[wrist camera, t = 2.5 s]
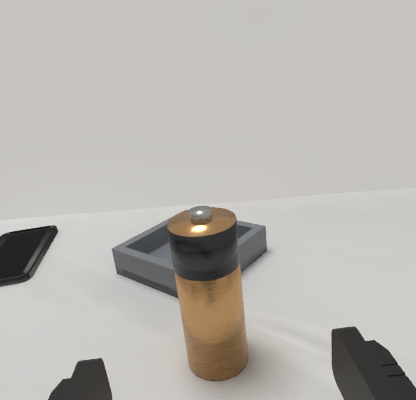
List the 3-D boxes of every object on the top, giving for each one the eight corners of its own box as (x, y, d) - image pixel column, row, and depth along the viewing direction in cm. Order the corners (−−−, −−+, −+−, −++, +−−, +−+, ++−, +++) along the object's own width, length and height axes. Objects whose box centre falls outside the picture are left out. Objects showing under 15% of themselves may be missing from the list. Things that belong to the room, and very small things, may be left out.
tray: (117, 272, 40) (111, 248, 39) (188, 231, 49) (185, 210, 48) (200, 306, 33) (196, 277, 32) (266, 250, 41) (265, 226, 40)
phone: (58, 224, 54) (27, 275, 40) (59, 231, 55) (30, 284, 41) (2, 233, 53) (-49, 288, 39) (5, 239, 54) (-45, 297, 40)
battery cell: (175, 364, 27) (150, 216, 23) (212, 328, 30) (195, 194, 26) (224, 391, 24) (205, 229, 20) (259, 349, 27) (248, 202, 23)
